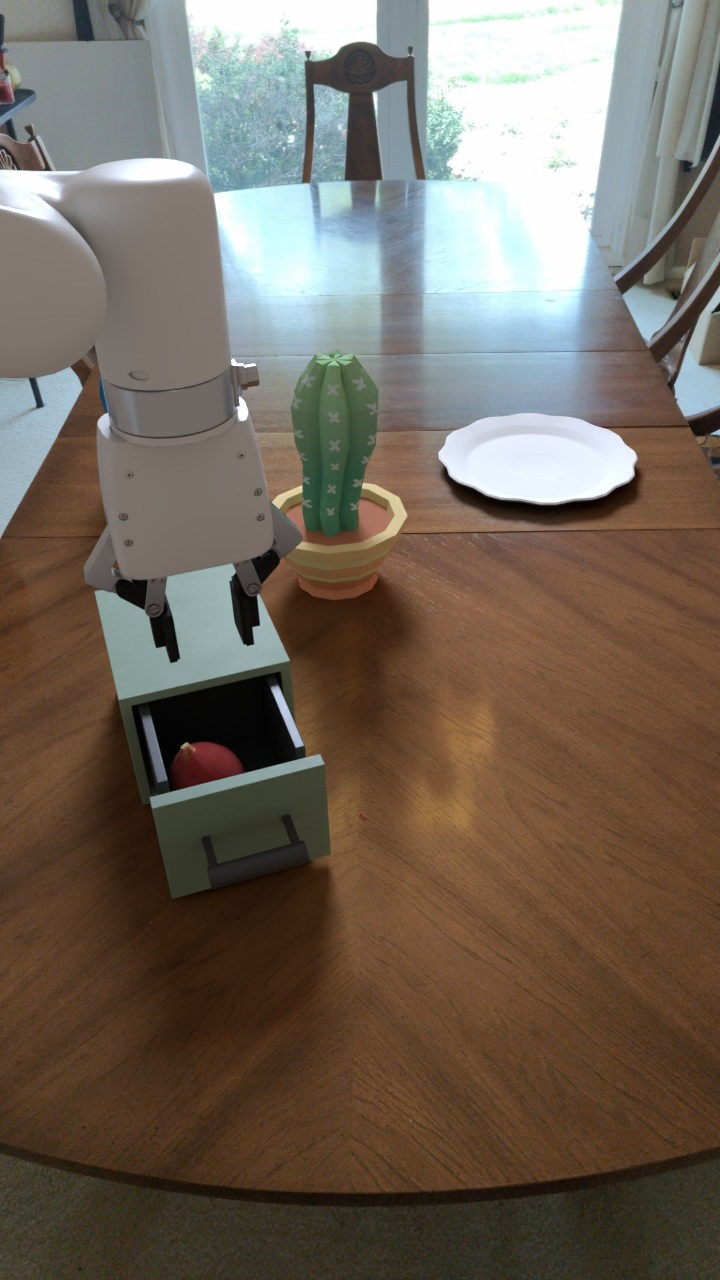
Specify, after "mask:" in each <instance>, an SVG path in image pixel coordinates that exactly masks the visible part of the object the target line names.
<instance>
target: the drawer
mask: <svg viewBox="0 0 720 1280" xmlns="http://www.w3.org/2000/svg"><path fill="white" fill-rule="evenodd" d="M137 707H138V711H139V716H140V721H141V725H142V730H143V734H144V739H145V744H146V748H147V753H148V757H149V762H150V766H151V771H152V775H153V779H154V783H155V787H156V791H157V796H153V797H150V798H149V799H150V803H149V804H150V808H151V812H152V817H153V821H154V825H155V830H156V834H157V839H158V844H159V848H160V853H161V856H162V857H161V858H162V861H163V864H164V871H165V874H166V879H167V883H168V888H169V891H170V892H169V894H170V896H171V899H172V900H173V899H177V898H181V897H185V896H188V895H192V894H195V893H198V892H203V891H206V890H209V889H211V890H217V889H219V888H220V889H221V888H224V887H227V886H230V885H235V884H238V883H241V882H245V881H249V880H253V879H255V878H259V877H263V876H266V875H269V874H273V873H277V872H280V871H283V870H288V869H291V868H294V867H298V866H300V865H301V866H302V865H305V864H309V862H310V861H312V860H316V859H320V858H322V857H327V856H330V855H331V854H332V851H331V835H330V820H329V804H328V803H329V802H328V791H327V789H328V788H327V773H326V763H325V761H324V758H323V756H322V755H321V753H318V754H315V755H311V756H307V752H306V744H305V742H304V740H303V738H302V735H301V733H300V731H299V728H298V726H297V724H295V722H296V720H295V721H294V719H293V717H292V714H291V712H290V710H289V707H288V705H287V703H286V700H285V698H284V696H283V693H282V691H281V689H280V686H279V684H278V682H277V680H276V677H275V675H274V673H271V674H266V675H262V676H258V677H253V678H249V679H245V680H240V681H236V682H232V683H227V684H223V685H219V686H214V687H210V688H206V689H201V690H197V691H193V692H188V693H184V694H180V695H176V696H171V697H167V698H163V699H158V700H154V701H150V702H145V703H141V704H137ZM196 742H213V743H216V744H219V745H222V746H224V747H227V748H228V749H230V750H231V751H232V752H233V753H234V754H235V755H236V756H237V758H238V759H239V760H240V762H241V763H242V766H243V768H244V771H245V773H243V774H239V775H235V776H232V777H228V778H224V779H220V780H216V781H212V782H208V783H204V784H200V785H196V786H192V787H188V788H184V789H181V790H177V791H173V792H171V791H170V784H169V771H170V768H171V765H172V762H173V760H174V757H175V756H176V755H177V754H178V752H179V751H180V749H181V746H182V745H183V744H185V743H189V744H193V743H196Z"/></svg>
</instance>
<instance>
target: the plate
mask: <svg viewBox="0 0 720 1280" xmlns="http://www.w3.org/2000/svg"><path fill="white" fill-rule="evenodd" d="M638 459H639V458H638V455H637V452H636V451H635V450H634V449H632V448H631V447H630V446H628V445H627V444H626V443H625V442H624V441H623V439H622V437H621V436H620V435H619V434H617V433H615V432H614V431H612V430H611V429H608V428H604V427H601V426H597V425H594V424H592V423H590V422H587V421H586V420H583V419H581V418H576V417H571V416H564V415H549V414H543V413H537V412H519V413H514V414H509V415H501V416H500V415H499V416H488V417H484V418H481V419H476V420H475V421H474V422H472V423H471V424H469V425H467V426H465V427H461V428H459V429H456V430H453V431H452V432H451V433H450V434H448V435H447V436H446V438H445V443H444V446H442V447H441V449H440V450H439V451H438V461H439V463H441V464H442V465H443V466H444V467H445V469H446V471H447V474H448V477H449V478H450V479H451V480H452V481H453V482H455V483H456V484H457V485H460V486H462V487H465V488H468V489H471V490H474V491H476V492H477V493H479V494H481V495H483V497H486V498H487V499H488V498H489V499H492V500H495V501H500V502H506V503H521V504H527V505H532V506H537V507H558V506H563V505H567V504H568V505H569V504H572V503H585V502H594V501H597V500H600V499H603V498H607V497H608V496H609V495H610V494H611V493H613V492H614V491H615V490H616V489H620V488H621V487H623V486H626V485H628V484H630V483H631V482H632V481H633V479H634V478H635V476H636V475H635V466H636V464H637V463H638Z"/></svg>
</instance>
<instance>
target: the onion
mask: <svg viewBox="0 0 720 1280" xmlns="http://www.w3.org/2000/svg"><path fill="white" fill-rule="evenodd" d="M243 773H245V771H244V768H243V766H242V763H241V762H240V760H239V759H238V758H237V756H236V755H235V754H234V753H233V752H232V751H231V750H230V749H228V748H227V747H224V746H222V745H219V744H216V743H213V742H196V743H193V744H189V743H185V744H183V745H182V746H181V749H180V751H179V752H178V754H177V755H176V756H175V757H174V760H173V762H172V765H171V768H170V771H169V784H170V791H171V792H173V791H177V790H181V789H184V788H188V787H192V786H196V785H200V784H204V783H208V782H212V781H216V780H220V779H224V778H228V777H232V776H235V775H239V774H243Z"/></svg>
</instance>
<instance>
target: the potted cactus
mask: <svg viewBox="0 0 720 1280" xmlns="http://www.w3.org/2000/svg"><path fill="white" fill-rule="evenodd" d="M293 392H294V396H293V400H292V402H291V405H290V413H291V421H292V431H293V438H294V444H295V447H296V450H297V452H298V455H299V458H300V461H301V465H302V485H299V486H297V487H294V488H292V489H289V490H287V491H285V492H282V493H280V494H278V495H276V497H275V498H274V499H273V500H272V501H271V502H272V503H273V504H274V505H275V506H276V507H277V508H278V509H279V510H281V511H282V512H283V513H284V514H285V515H286V516H287V517H288V518H289V519H290V520H291V521H292V522H293V523H294V524H295V525H296V526H297V527H298V529H299V531H300V532H301V534H302V536H303V540H302V542H301V543H300V544H299V545H298V546H297V547H296V548H295V549H294V550H292V551H291V552H290V553H289V554H288V555H287V556H286V557H285V558H284V557H283V558H282V559H284V562H285V564H286V566H288V568H290V570H291V571H293V572H294V573H295V574H296V576H297V580H298V583H299V588H300V589H301V590H303V591H304V592H306V593H308V594H309V595H310V596H312V597H314V598H319V599H325V600H330V601H339V600H345V599H346V600H347V599H355V598H357V597H359V596H361V595H363V594H365V593H367V592H369V591H371V590H372V589H373V588H374V586H375V584H376V583H377V581H378V579H379V575H378V571H379V570H380V569H381V568H382V567H383V565H384V564H385V562H386V560H387V558H388V556H389V555H390V553H391V551H392V548H393V547H395V545H396V543H397V542H398V539H400V536H401V535H402V533H403V531H404V530H405V527H406V524H407V520H408V517H409V515H408V513H407V510H406V508H405V507H404V504H403V502H402V500H401V498H400V497H399V496H398V495H395V494H394V493H392V492H391V491H388V490H386V489H384V488H383V487H381V486H380V485H377V484H375V483H366V482H364V479H365V474H366V469H367V466H368V464H369V461H370V459H371V456H372V454H373V452H374V450H375V447H376V445H377V434H378V414H379V397H380V396H379V393H380V390H379V388H378V386H377V385H376V383H375V382H374V380H373V379H372V377H371V376H370V375H369V373H368V372H367V370H366V369H365V368H364V367H363V365H362V364H361V362H360V361H359V359H358V358H357V357H356V355H355V354H354V353H349V354H346V355H343V354H342V353H341V352H340V351H339V350H338V349H333V350H331V351H330V352H329V354H328V355H325V354H323V353H321V352H316V353H315V354H314V355H313V357H312V358H311V360H310V361H309V362H308V364H307V366H306V367H305V368H304V370H303V371H302V372H301V374H300V375H299V377H298V380H297V382H296V385H295V388H294V390H293Z"/></svg>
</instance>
